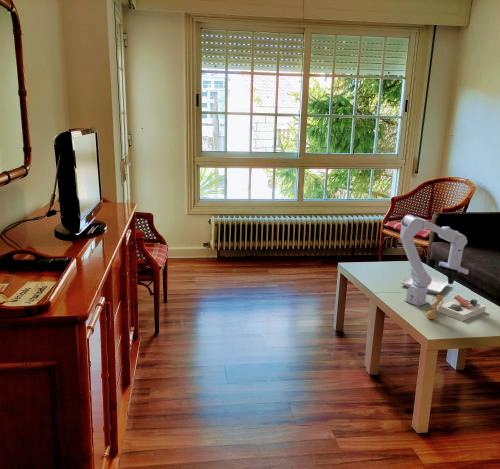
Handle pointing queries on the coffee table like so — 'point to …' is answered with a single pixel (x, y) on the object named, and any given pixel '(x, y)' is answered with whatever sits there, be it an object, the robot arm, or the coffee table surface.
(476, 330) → the coffee table surface
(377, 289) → the coffee table surface
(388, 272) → the coffee table surface
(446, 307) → the panel
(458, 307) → the button
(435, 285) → the salad plate
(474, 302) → the slider
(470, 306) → the plate
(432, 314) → the figurine
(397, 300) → the coffee table surface
